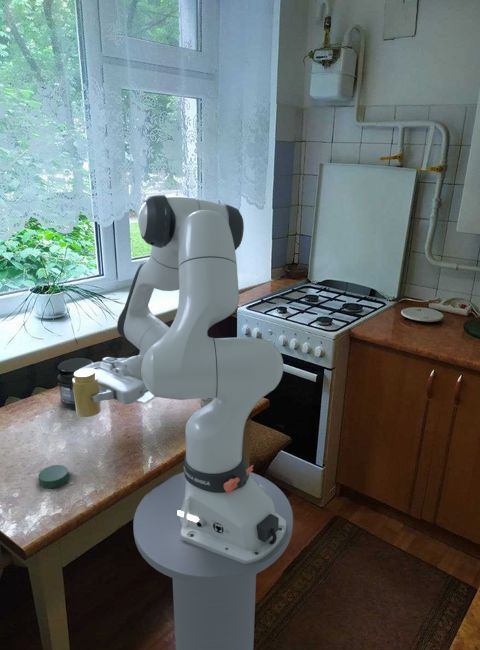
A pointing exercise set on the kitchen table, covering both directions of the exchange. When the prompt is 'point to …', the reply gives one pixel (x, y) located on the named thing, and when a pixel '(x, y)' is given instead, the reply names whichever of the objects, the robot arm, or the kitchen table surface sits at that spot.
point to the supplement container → (69, 379)
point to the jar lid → (53, 476)
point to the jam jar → (85, 392)
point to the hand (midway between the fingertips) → (83, 394)
